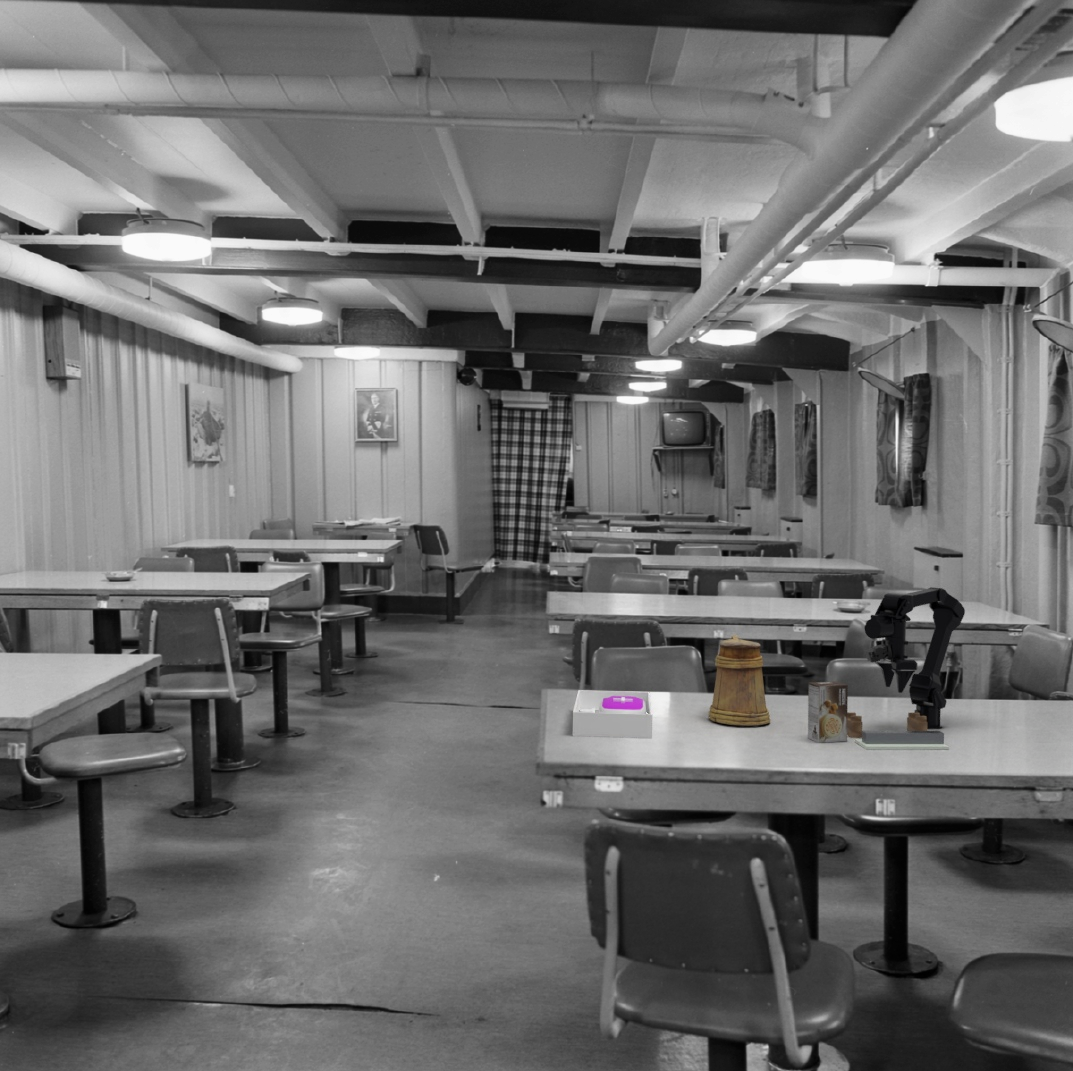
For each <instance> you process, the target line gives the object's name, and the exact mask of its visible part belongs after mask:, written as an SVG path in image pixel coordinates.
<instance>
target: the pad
mask: <svg viewBox="0 0 1073 1071" xmlns="http://www.w3.org/2000/svg"><path fill="white" fill-rule="evenodd" d="M854 743H856V744H857V745H858V746H860V747H862V748H863V749H865V750H882V751H883V750H885V751H886V750H893V751H894V750H899V751H900V750H901V751H902V750H906V751H907V750H910V751H911V750H917V751H918V750H920V751H921V750H924V751H925V750H930V749H949V750H950V746H948V745H946V744H945V743H944V744H865V743H864V742H862V738H854Z"/></svg>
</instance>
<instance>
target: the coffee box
mask: <svg viewBox="0 0 1073 1071" xmlns="http://www.w3.org/2000/svg"><path fill="white" fill-rule="evenodd" d="M807 683H808V696H807V698H808V699H807V701H808V702H807V706H808V707H807V714H808V715H807V716H808V717H807V720H808V721H807V738H808V739H809V740H812V741H814V742H816V743H819V744H820V743H821V744H823V743H835V742H836V743H837V742H848V735H847V712H848V701H849V700H848V691H849V690H848V684H846V683H842V682H839V681H817V682H816V681H815V682H807Z"/></svg>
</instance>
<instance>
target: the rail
mask: <svg viewBox="0 0 1073 1071" xmlns="http://www.w3.org/2000/svg"><path fill="white" fill-rule="evenodd" d="M861 739H862V742H864V743H865V744H945V732H943V731H941V730H927V731H907V730H862V738H861Z"/></svg>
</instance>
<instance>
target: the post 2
mask: <svg viewBox="0 0 1073 1071" xmlns="http://www.w3.org/2000/svg"><path fill="white" fill-rule="evenodd" d="M926 721H927V717H926V716H920V713H914V712H908V717H906V722H907V723H906V731H928V728H927V723H928V722H926Z"/></svg>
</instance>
